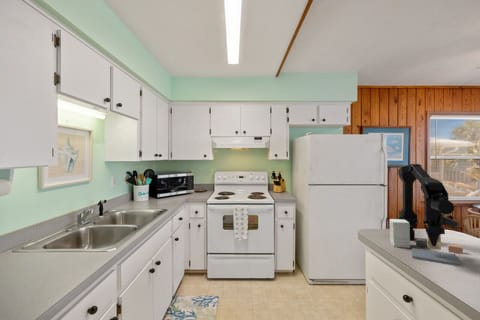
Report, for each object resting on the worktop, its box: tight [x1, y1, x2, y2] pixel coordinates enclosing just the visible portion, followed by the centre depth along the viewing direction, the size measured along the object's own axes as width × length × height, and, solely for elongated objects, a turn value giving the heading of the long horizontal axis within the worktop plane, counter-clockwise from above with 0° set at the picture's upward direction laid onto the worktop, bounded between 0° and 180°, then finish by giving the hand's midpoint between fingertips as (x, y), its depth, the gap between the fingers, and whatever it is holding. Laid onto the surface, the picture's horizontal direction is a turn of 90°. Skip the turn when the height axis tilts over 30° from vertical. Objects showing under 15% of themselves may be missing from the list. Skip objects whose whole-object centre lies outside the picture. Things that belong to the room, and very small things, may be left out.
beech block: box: [426, 234, 442, 250], centre depth 111 cm, size 4×4×6 cm
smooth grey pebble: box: [415, 238, 429, 249], centre depth 125 cm, size 5×5×3 cm
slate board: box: [411, 247, 461, 267], centre depth 111 cm, size 16×12×1 cm
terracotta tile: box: [447, 243, 464, 255], centre depth 117 cm, size 5×3×3 cm, turn 56°
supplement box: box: [389, 218, 411, 249], centre depth 127 cm, size 7×7×13 cm
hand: (433, 244), depth 111 cm, fingers closed on beech block, 4 cm apart
